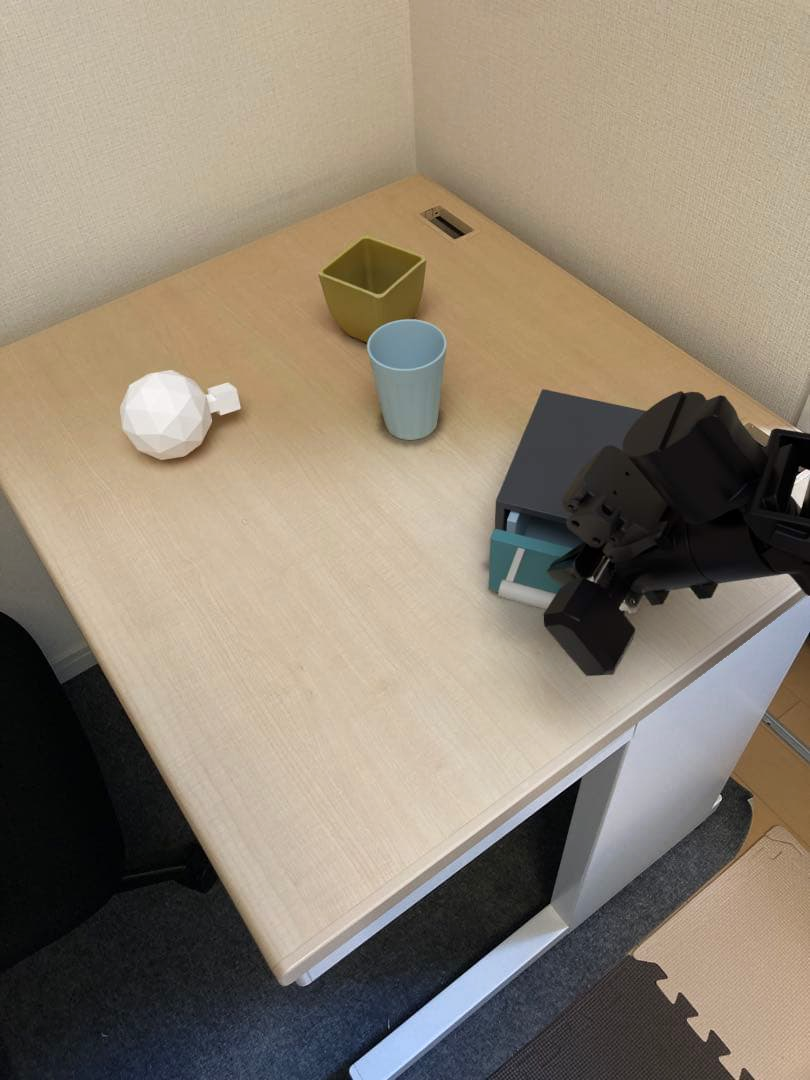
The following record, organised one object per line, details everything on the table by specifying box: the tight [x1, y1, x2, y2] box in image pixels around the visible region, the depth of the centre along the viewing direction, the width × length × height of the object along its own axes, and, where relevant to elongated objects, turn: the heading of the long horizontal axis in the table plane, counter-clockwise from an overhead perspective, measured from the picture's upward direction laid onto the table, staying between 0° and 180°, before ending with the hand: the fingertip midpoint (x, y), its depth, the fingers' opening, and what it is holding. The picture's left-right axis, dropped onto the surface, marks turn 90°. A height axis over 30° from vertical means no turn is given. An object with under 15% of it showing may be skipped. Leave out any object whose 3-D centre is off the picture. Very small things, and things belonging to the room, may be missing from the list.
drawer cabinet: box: [494, 388, 647, 531], centre depth 82 cm, size 15×13×9 cm
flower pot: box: [317, 234, 427, 344], centre depth 102 cm, size 9×9×9 cm
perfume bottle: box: [119, 369, 242, 461], centre depth 92 cm, size 9×9×12 cm
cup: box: [366, 318, 448, 441], centre depth 92 cm, size 8×8×10 cm
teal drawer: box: [487, 510, 584, 610], centre depth 79 cm, size 18×11×7 cm, turn 159°
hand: (552, 571), depth 74 cm, fingers closed
